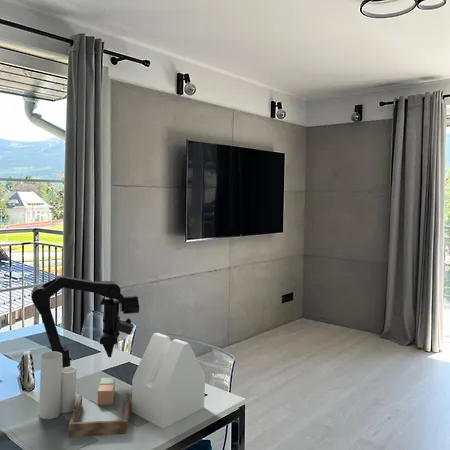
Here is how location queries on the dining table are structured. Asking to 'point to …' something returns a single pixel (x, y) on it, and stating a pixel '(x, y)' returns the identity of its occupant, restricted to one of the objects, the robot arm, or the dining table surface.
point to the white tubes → (56, 386)
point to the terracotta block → (105, 394)
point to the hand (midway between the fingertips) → (110, 354)
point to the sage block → (108, 382)
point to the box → (97, 423)
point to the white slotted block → (167, 382)
